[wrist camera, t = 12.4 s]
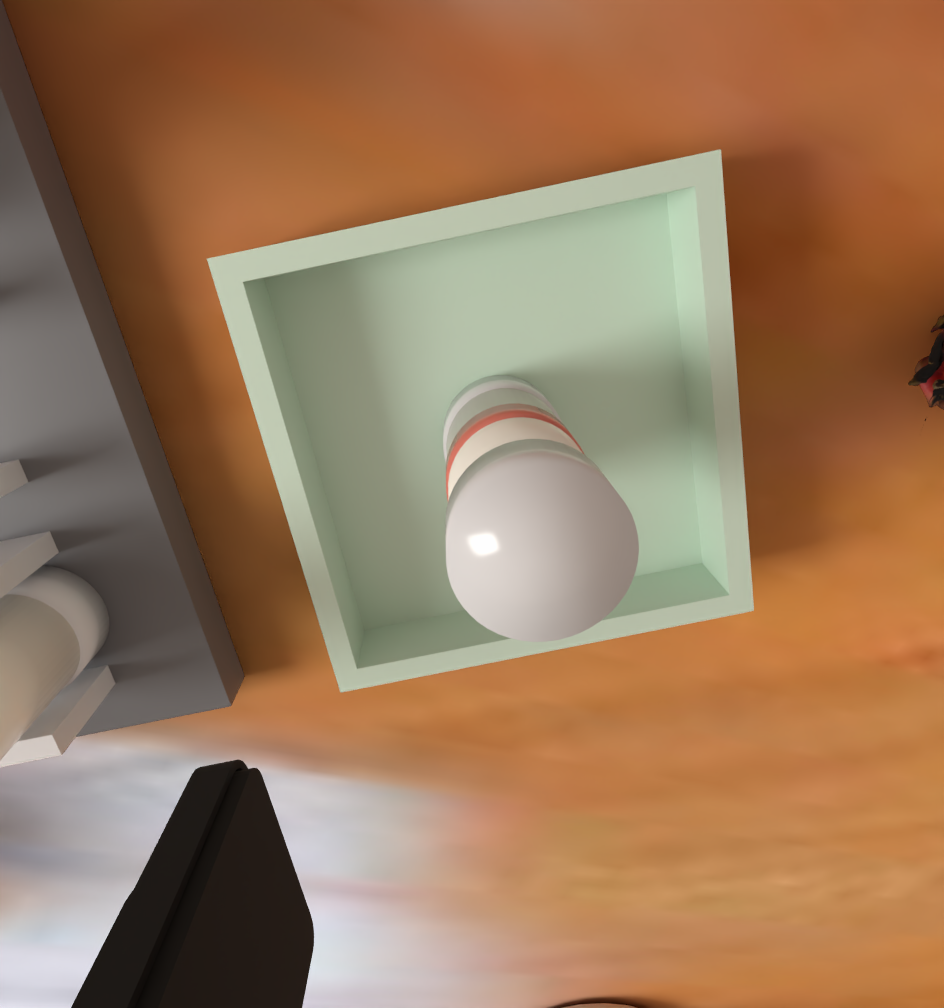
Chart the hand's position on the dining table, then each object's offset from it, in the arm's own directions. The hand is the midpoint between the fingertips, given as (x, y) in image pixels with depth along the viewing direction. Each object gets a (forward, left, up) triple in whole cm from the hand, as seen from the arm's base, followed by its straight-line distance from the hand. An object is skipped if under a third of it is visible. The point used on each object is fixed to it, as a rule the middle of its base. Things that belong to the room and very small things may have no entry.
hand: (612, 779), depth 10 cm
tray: (0, -1, -18) cm, 18 cm away
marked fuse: (0, -1, -17) cm, 17 cm away
